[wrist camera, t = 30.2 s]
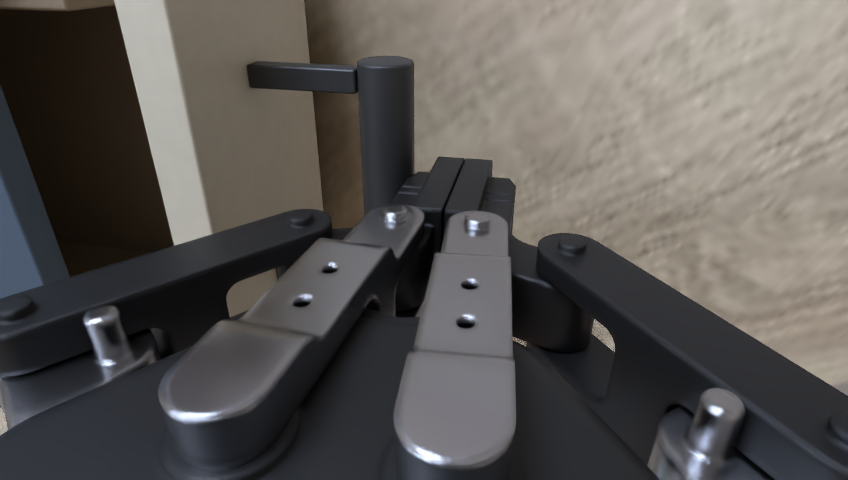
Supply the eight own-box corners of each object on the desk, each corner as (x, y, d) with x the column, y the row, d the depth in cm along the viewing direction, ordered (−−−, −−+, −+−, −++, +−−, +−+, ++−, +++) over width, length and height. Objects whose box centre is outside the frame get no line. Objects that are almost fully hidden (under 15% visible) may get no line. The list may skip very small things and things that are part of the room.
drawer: (443, -63, 15) (374, -71, 9) (435, 302, 21) (390, 439, 15) (-98, -65, 18) (-403, -72, 13) (26, 251, 24) (-141, 346, 18)
